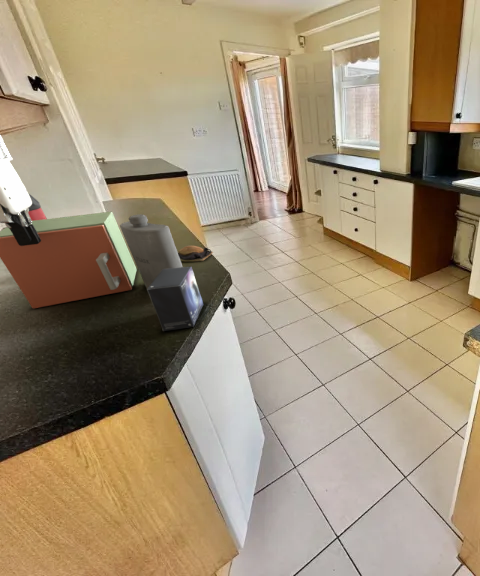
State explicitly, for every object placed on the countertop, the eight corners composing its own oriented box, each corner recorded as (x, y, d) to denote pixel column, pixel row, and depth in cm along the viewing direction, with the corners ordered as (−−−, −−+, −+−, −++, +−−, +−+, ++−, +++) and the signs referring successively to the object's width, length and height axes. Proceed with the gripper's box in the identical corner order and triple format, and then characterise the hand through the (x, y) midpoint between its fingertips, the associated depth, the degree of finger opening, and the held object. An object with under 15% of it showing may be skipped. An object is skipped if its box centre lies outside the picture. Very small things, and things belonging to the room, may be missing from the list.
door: (127, 298, 81) (96, 231, 72) (23, 319, 73) (-26, 247, 64) (132, 288, 86) (103, 224, 77) (34, 306, 78) (-10, 238, 69)
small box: (196, 327, 69) (180, 285, 64) (162, 332, 68) (144, 289, 63) (205, 303, 78) (192, 264, 73) (176, 307, 76) (160, 268, 72)
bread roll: (169, 262, 101) (165, 252, 100) (184, 252, 109) (180, 242, 107) (202, 262, 101) (198, 251, 99) (214, 252, 109) (211, 242, 107)
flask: (138, 287, 86) (107, 215, 77) (160, 278, 91) (132, 209, 81) (173, 299, 80) (143, 222, 71) (194, 289, 85) (169, 215, 75)
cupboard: (132, 286, 87) (104, 222, 78) (35, 306, 78) (-10, 237, 69) (136, 269, 97) (111, 211, 88) (50, 286, 88) (13, 223, 79)
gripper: (-27, 150, 65) (21, 236, 73) (-74, 158, 53) (-10, 258, 62) (23, 149, 68) (63, 231, 76) (-11, 156, 56) (41, 252, 65)
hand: (30, 243), depth 69 cm, fingers closed
